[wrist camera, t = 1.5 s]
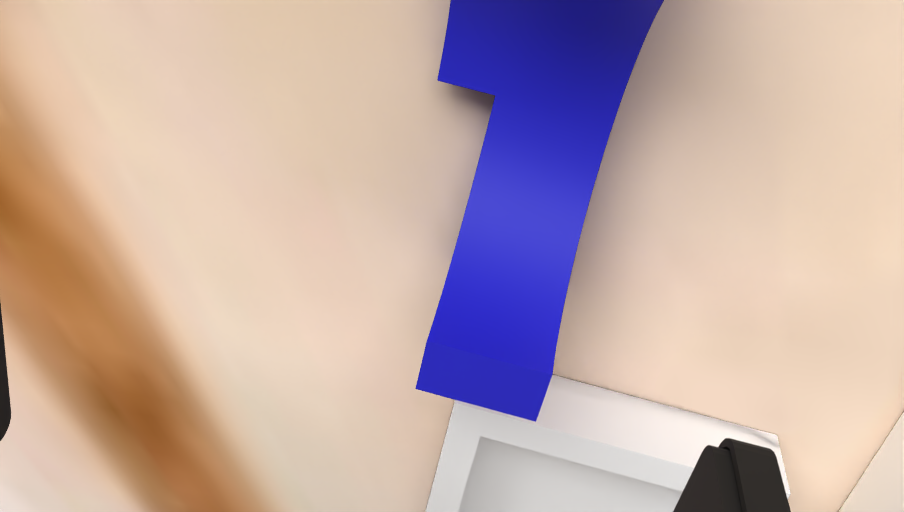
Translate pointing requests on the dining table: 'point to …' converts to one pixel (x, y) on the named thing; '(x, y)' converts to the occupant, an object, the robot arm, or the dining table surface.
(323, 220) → the dining table surface
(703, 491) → the robot arm
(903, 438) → the power strip
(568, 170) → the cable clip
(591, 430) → the cable tray
